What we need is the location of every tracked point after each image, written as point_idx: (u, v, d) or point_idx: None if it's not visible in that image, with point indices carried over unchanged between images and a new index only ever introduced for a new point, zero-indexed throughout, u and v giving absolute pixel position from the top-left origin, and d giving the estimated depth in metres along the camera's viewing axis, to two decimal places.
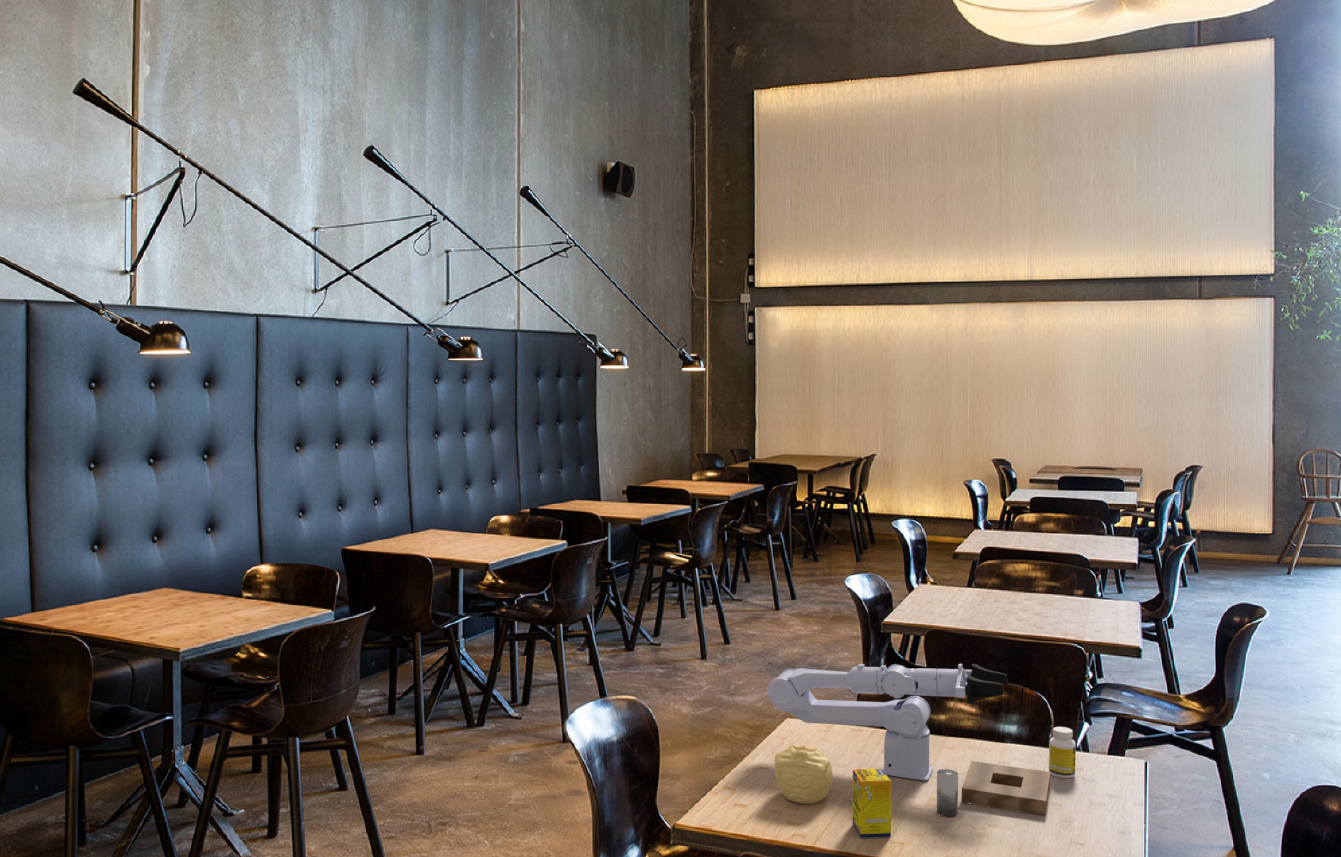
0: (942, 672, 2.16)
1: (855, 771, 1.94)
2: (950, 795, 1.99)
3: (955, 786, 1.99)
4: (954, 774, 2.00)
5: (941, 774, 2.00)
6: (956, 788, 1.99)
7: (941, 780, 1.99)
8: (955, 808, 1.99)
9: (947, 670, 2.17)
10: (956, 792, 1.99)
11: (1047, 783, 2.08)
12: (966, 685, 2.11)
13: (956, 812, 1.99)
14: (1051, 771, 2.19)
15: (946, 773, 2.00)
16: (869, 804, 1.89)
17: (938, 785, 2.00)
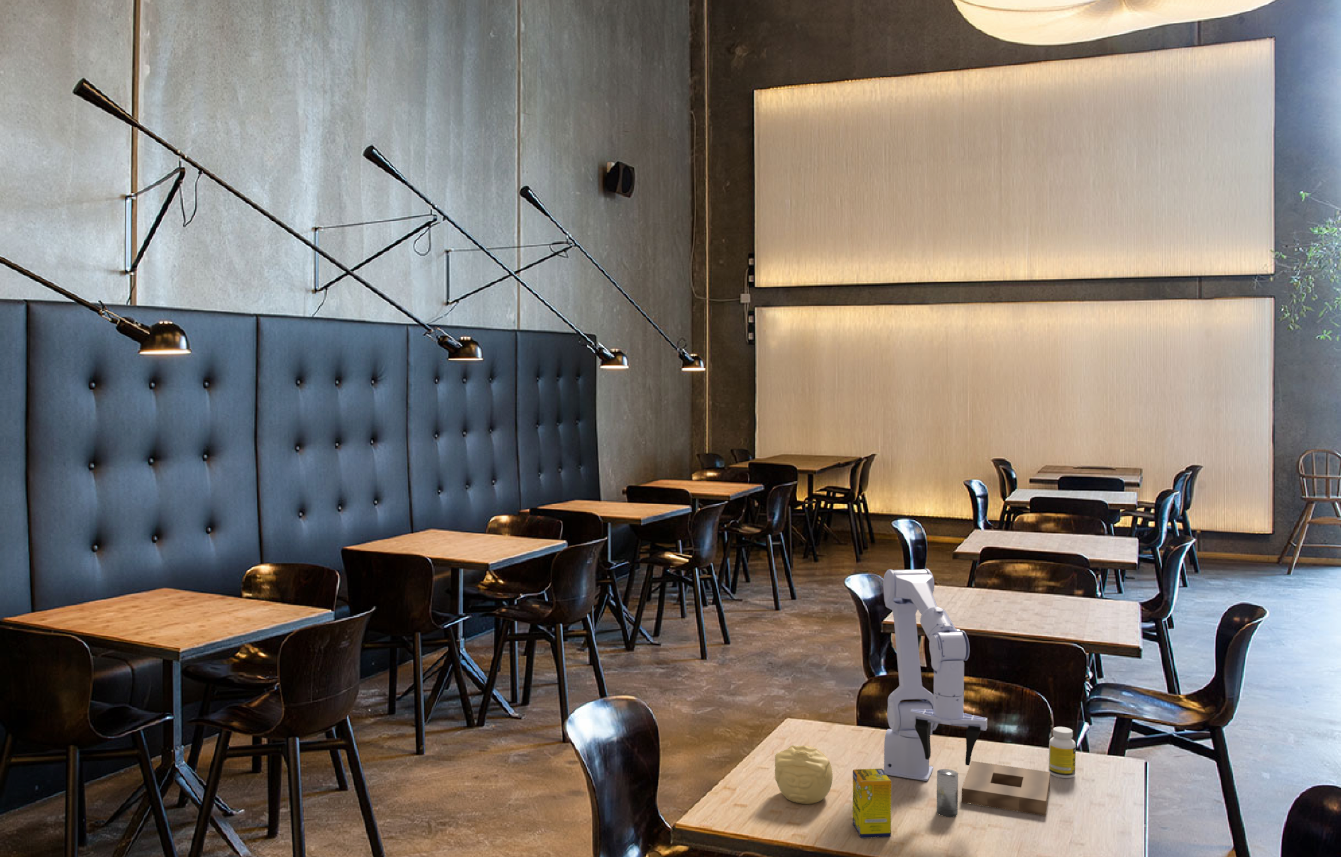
0: (939, 700, 1.98)
1: (855, 771, 1.94)
2: (950, 795, 1.99)
3: (955, 786, 1.99)
4: (954, 774, 2.00)
5: (941, 774, 2.00)
6: (956, 788, 1.99)
7: (941, 780, 1.99)
8: (955, 808, 1.99)
9: (943, 706, 1.97)
10: (956, 792, 1.99)
11: (1047, 783, 2.08)
12: (923, 722, 2.01)
13: (956, 812, 1.99)
14: (1051, 771, 2.19)
15: (946, 773, 2.00)
16: (869, 804, 1.89)
17: (938, 785, 2.00)
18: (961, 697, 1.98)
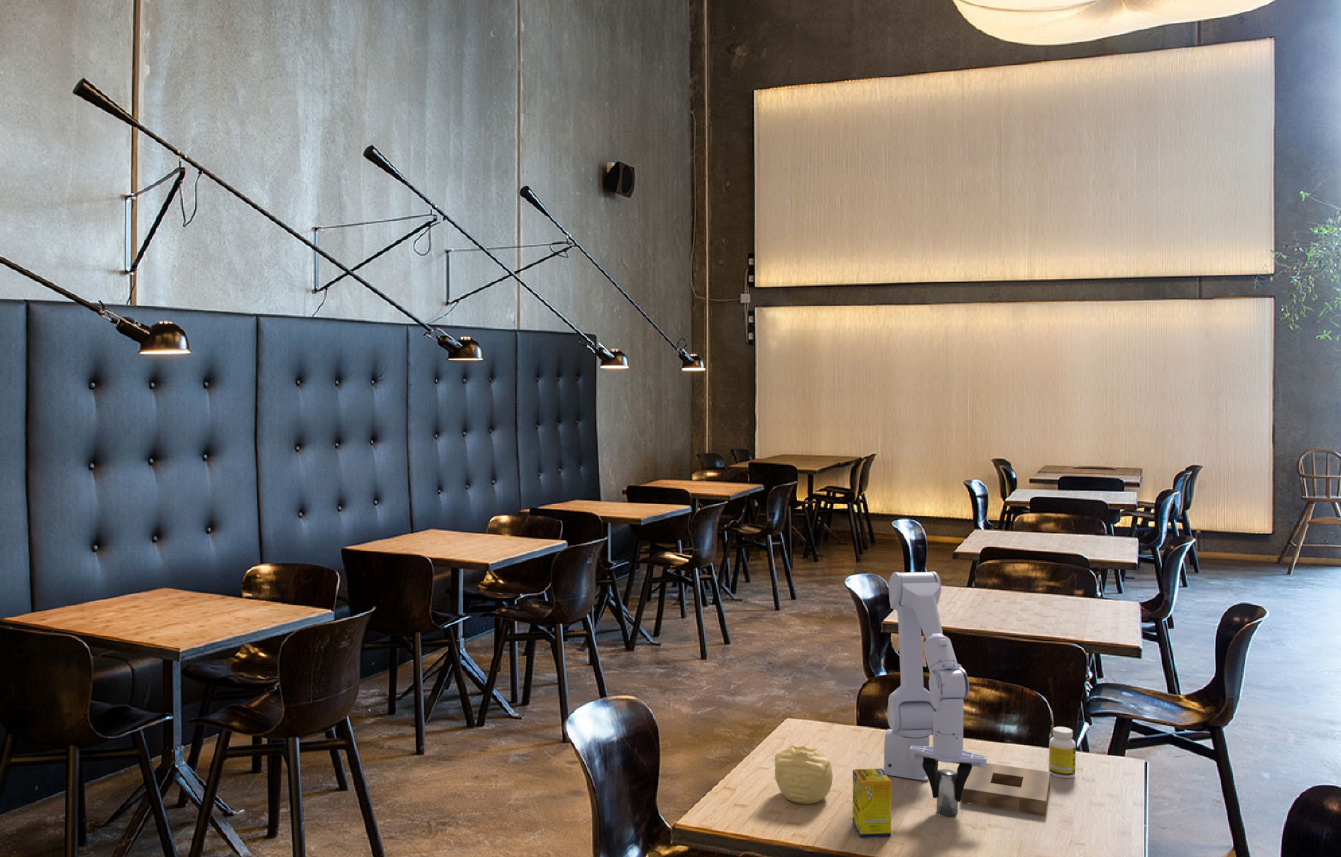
0: (938, 738, 1.98)
1: (855, 771, 1.94)
2: (950, 795, 1.99)
3: (955, 786, 1.99)
4: (954, 774, 2.00)
5: (941, 774, 2.00)
6: (956, 788, 1.99)
7: (941, 780, 1.99)
8: (955, 808, 1.99)
9: (943, 744, 1.98)
10: (956, 792, 1.99)
11: (1047, 783, 2.08)
12: (922, 760, 2.01)
13: (956, 812, 1.99)
14: (1051, 771, 2.19)
15: (946, 773, 2.00)
16: (869, 804, 1.89)
17: (938, 785, 2.00)
18: (960, 735, 1.98)
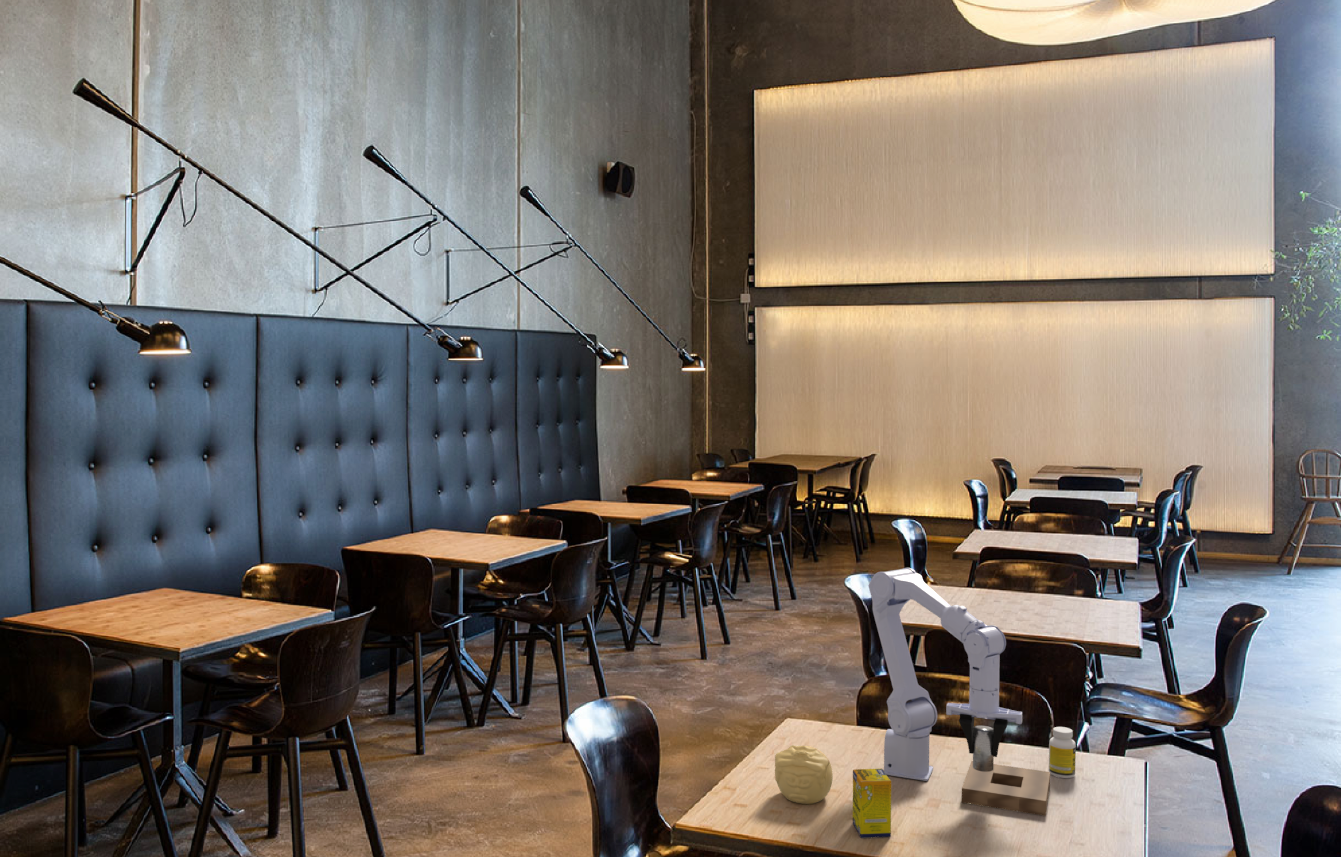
0: (975, 694, 2.03)
1: (855, 771, 1.94)
2: (986, 750, 2.03)
3: (991, 741, 2.04)
4: (990, 730, 2.05)
5: (978, 730, 2.04)
6: (992, 743, 2.04)
7: (977, 736, 2.04)
8: (991, 763, 2.04)
9: (979, 700, 2.03)
10: (992, 747, 2.04)
11: (1047, 783, 2.08)
12: None
13: (992, 767, 2.04)
14: (1051, 771, 2.19)
15: (982, 729, 2.05)
16: (869, 804, 1.89)
17: (974, 741, 2.05)
18: (997, 691, 2.03)
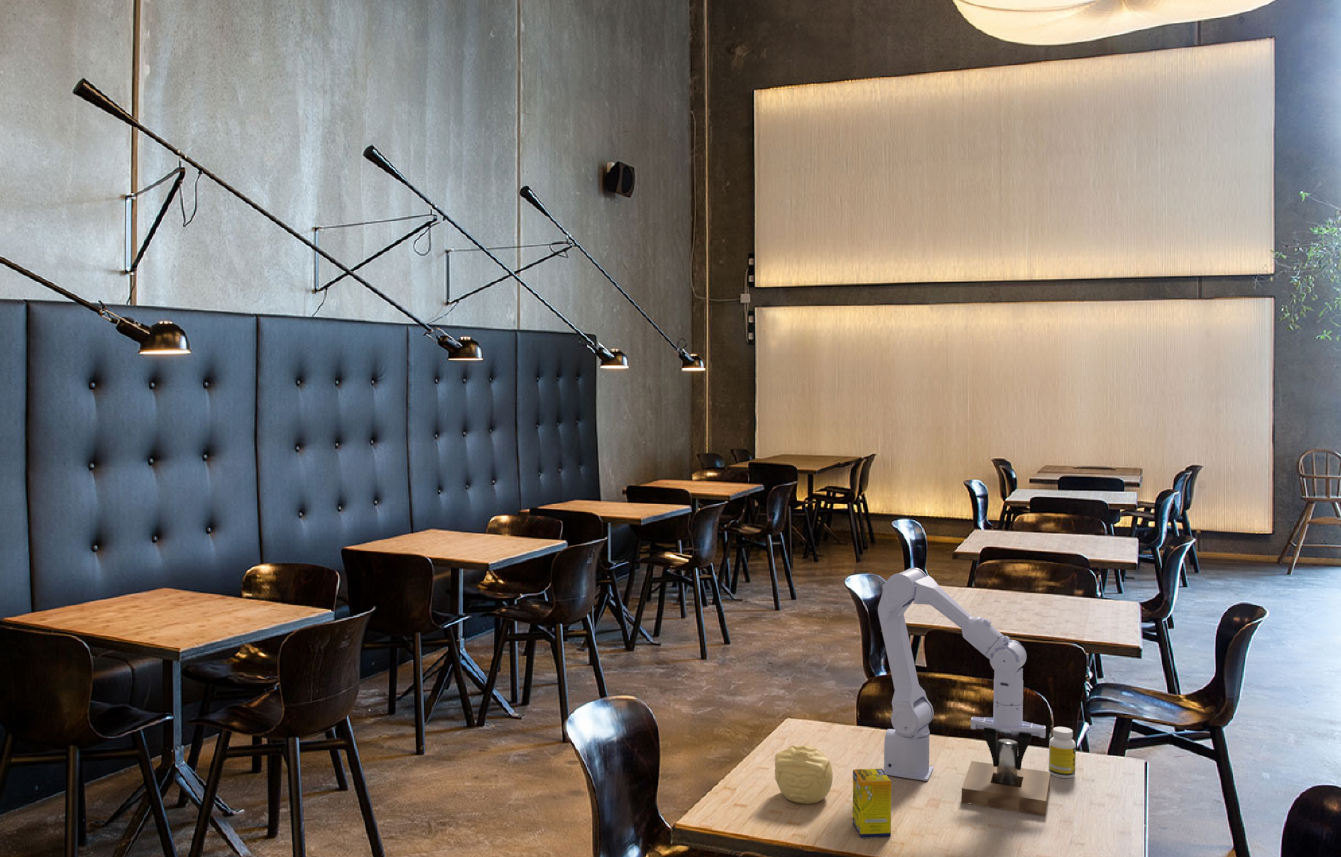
0: (999, 709, 2.07)
1: (855, 771, 1.94)
2: (1010, 763, 2.07)
3: (1015, 755, 2.07)
4: (1014, 743, 2.08)
5: (1002, 743, 2.08)
6: (1016, 757, 2.08)
7: (1002, 749, 2.08)
8: (1015, 776, 2.08)
9: (1004, 715, 2.06)
10: (1016, 761, 2.08)
11: (1047, 783, 2.08)
12: None
13: (1016, 780, 2.08)
14: (1051, 771, 2.19)
15: (1006, 742, 2.09)
16: (870, 804, 1.89)
17: (999, 754, 2.09)
18: (1021, 706, 2.07)
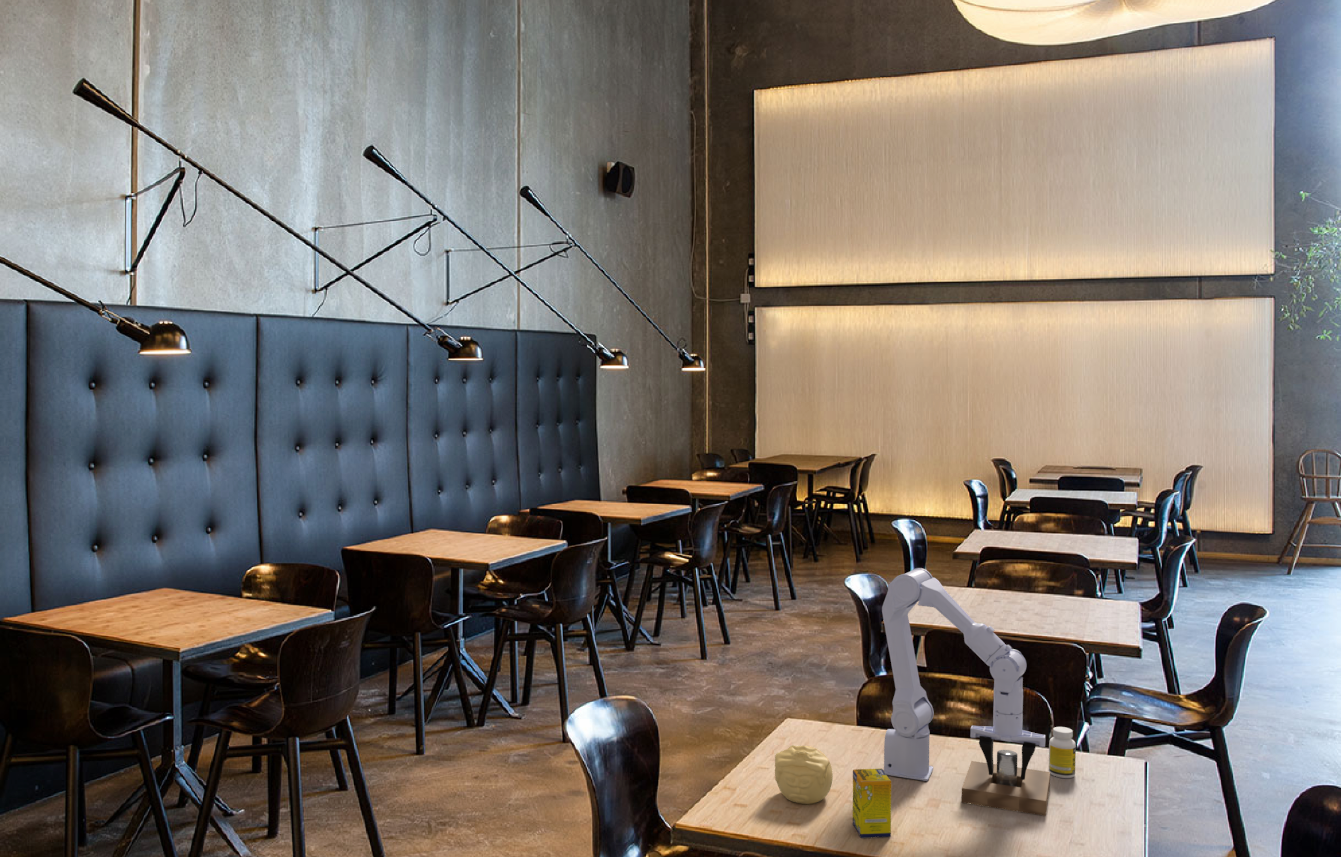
0: (999, 718, 2.07)
1: (855, 771, 1.94)
2: (1010, 774, 2.07)
3: (1015, 765, 2.08)
4: (1014, 754, 2.09)
5: (1001, 754, 2.08)
6: (1016, 768, 2.08)
7: (1001, 760, 2.08)
8: None
9: (1003, 724, 2.07)
10: (1016, 771, 2.08)
11: (1047, 783, 2.08)
12: (983, 739, 2.10)
13: None
14: (1051, 771, 2.19)
15: (1005, 753, 2.09)
16: (869, 804, 1.89)
17: (998, 765, 2.09)
18: (1020, 715, 2.07)
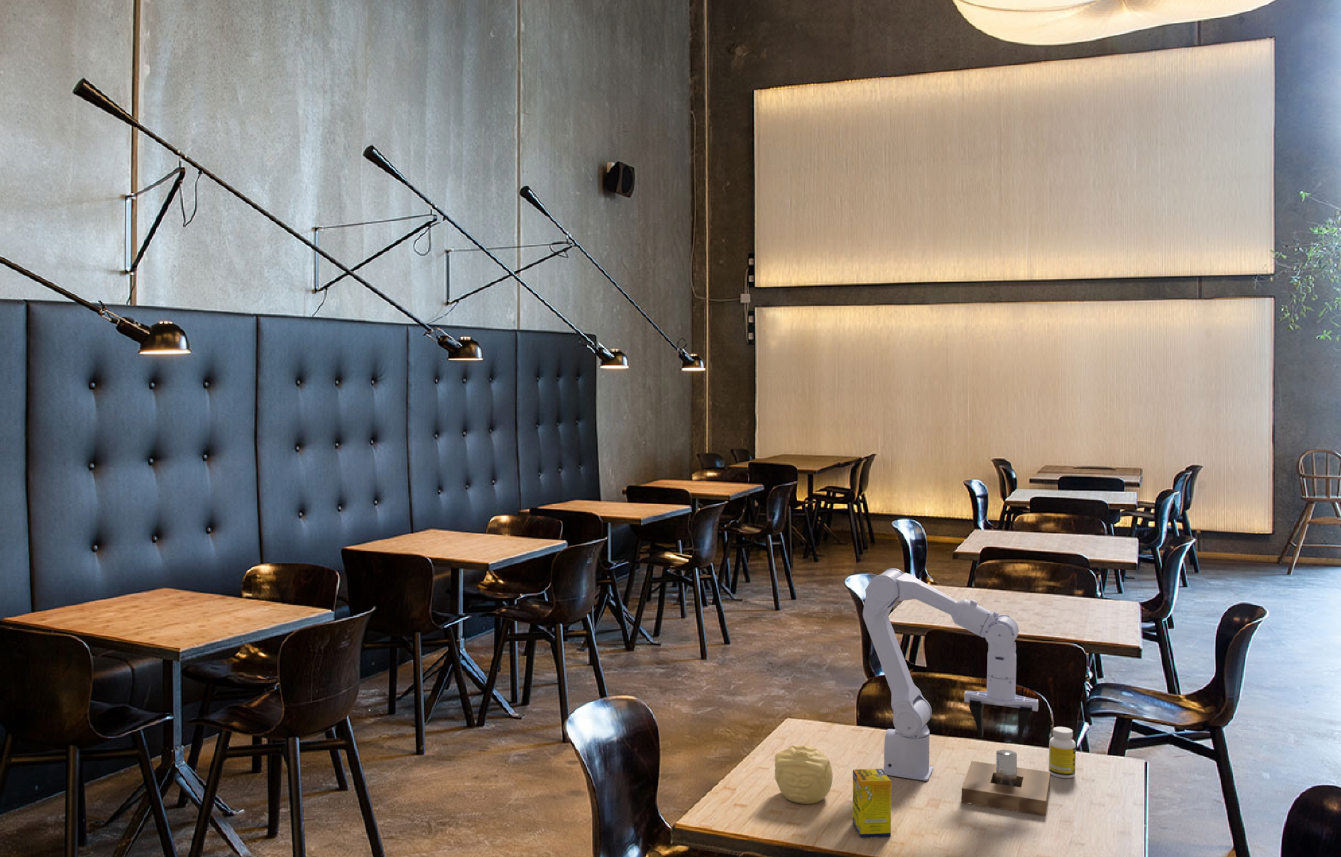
0: (992, 682, 2.10)
1: (855, 771, 1.94)
2: (1009, 774, 2.07)
3: (1014, 765, 2.08)
4: (1013, 754, 2.09)
5: (1001, 754, 2.08)
6: (1015, 767, 2.08)
7: (1001, 760, 2.08)
8: (1015, 786, 2.08)
9: (997, 688, 2.09)
10: (1015, 771, 2.08)
11: (1047, 783, 2.08)
12: (976, 703, 2.13)
13: None
14: (1051, 771, 2.19)
15: (1005, 753, 2.09)
16: (869, 804, 1.89)
17: (998, 765, 2.09)
18: (1014, 679, 2.10)
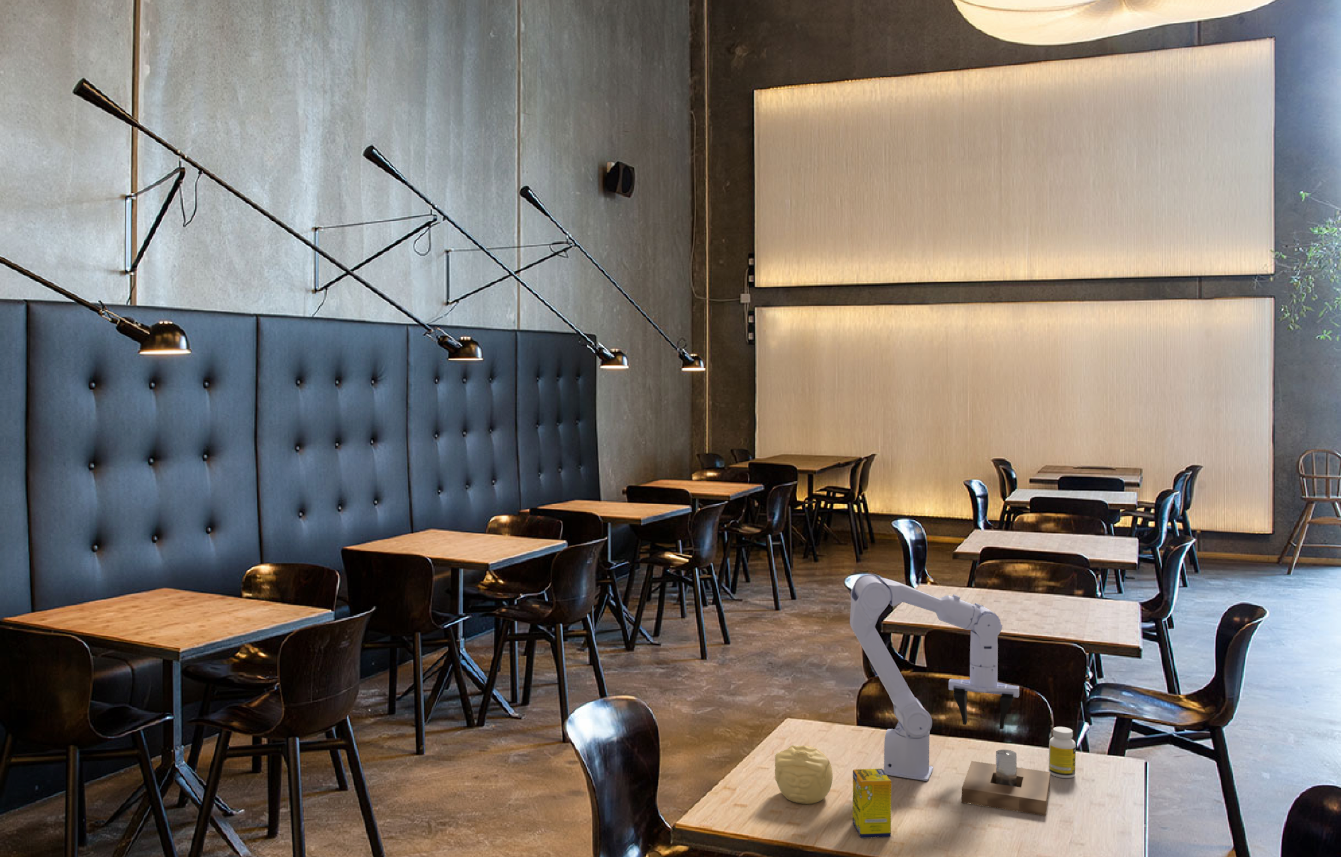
0: (975, 670, 2.18)
1: (855, 771, 1.94)
2: (1009, 774, 2.07)
3: (1014, 765, 2.08)
4: (1013, 753, 2.09)
5: (1001, 754, 2.08)
6: (1015, 767, 2.08)
7: (1001, 760, 2.08)
8: (1015, 786, 2.08)
9: (979, 676, 2.18)
10: (1015, 771, 2.08)
11: (1047, 783, 2.08)
12: (960, 691, 2.21)
13: None
14: (1051, 771, 2.19)
15: (1004, 753, 2.09)
16: (870, 804, 1.89)
17: (998, 765, 2.09)
18: (995, 667, 2.18)
